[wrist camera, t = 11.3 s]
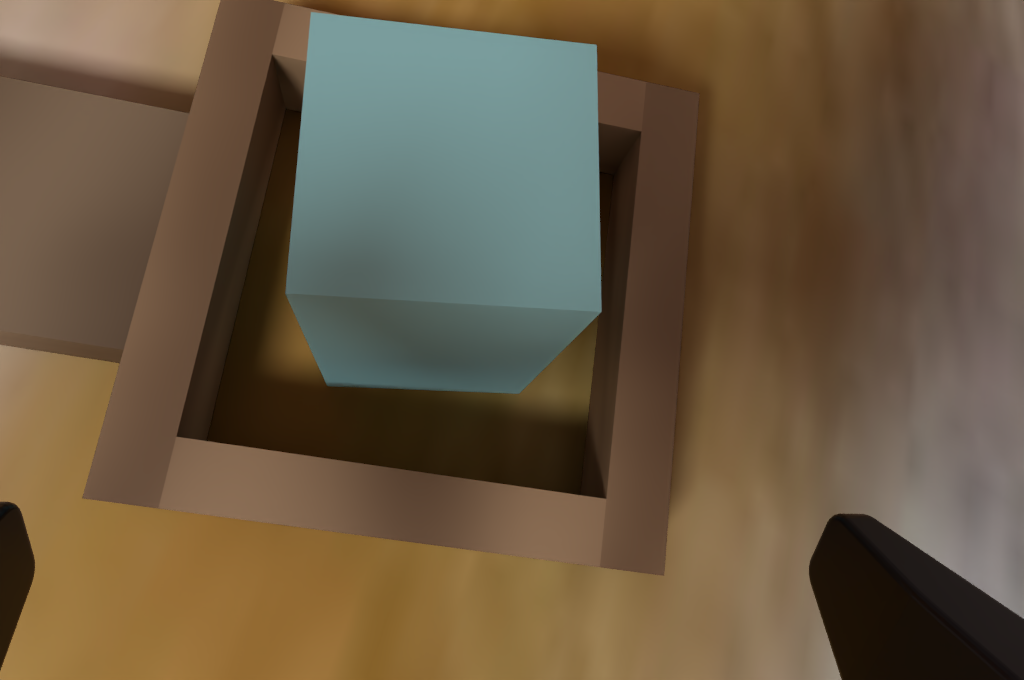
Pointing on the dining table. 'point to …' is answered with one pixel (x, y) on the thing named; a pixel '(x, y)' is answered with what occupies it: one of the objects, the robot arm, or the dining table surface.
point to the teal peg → (444, 204)
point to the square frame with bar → (220, 279)
